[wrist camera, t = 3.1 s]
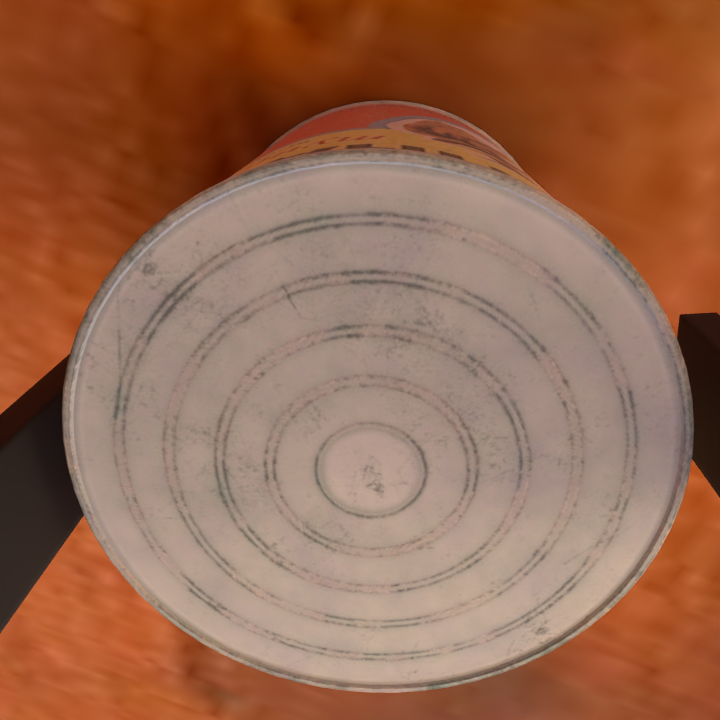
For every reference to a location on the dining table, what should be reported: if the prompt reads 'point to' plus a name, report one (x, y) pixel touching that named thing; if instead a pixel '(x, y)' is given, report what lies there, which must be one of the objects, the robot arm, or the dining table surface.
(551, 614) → the canned food
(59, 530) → the robot arm
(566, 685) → the dining table surface
